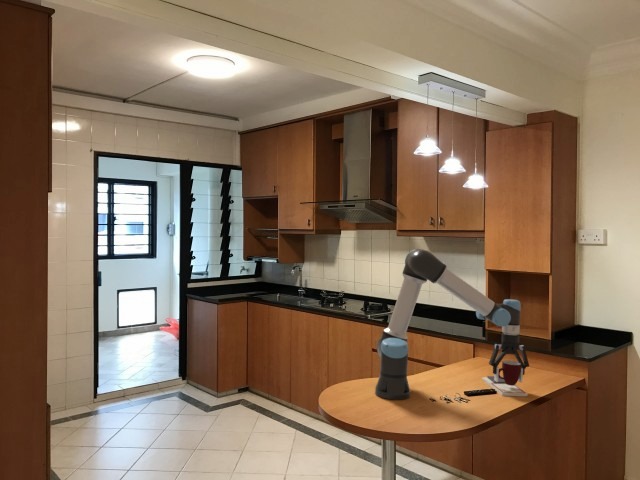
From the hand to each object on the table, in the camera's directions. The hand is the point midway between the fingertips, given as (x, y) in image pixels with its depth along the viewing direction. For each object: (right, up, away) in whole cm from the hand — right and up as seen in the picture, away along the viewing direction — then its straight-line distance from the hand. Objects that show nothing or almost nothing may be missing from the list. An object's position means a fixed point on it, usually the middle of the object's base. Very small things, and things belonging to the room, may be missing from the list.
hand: (508, 381), depth 236 cm
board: (0, -4, +5) cm, 6 cm away
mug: (0, -2, 0) cm, 2 cm away
